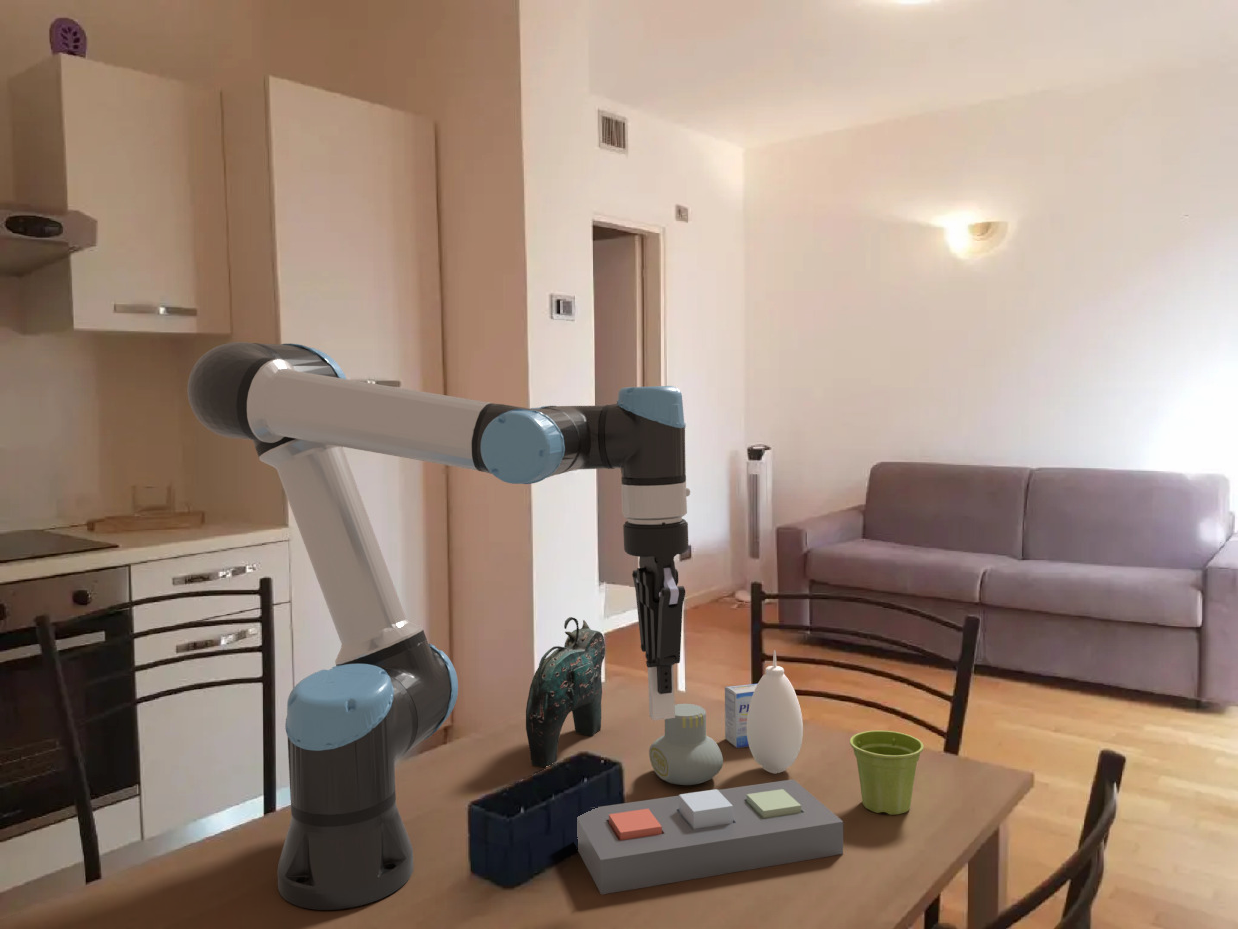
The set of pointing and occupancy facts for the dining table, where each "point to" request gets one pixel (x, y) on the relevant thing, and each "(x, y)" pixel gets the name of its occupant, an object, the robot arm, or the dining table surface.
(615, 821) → the red button
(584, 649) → the dark green metal figure
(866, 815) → the dining table surface
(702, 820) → the white button
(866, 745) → the plant pot
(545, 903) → the dining table surface
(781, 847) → the button panel
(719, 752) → the air freshener
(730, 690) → the medicine box
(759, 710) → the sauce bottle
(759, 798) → the green button
